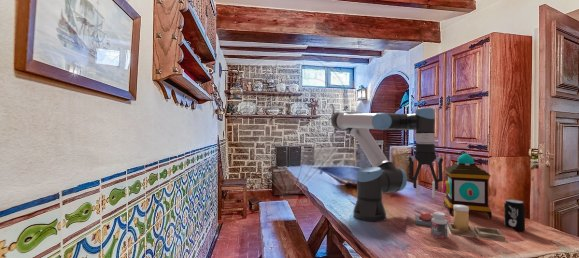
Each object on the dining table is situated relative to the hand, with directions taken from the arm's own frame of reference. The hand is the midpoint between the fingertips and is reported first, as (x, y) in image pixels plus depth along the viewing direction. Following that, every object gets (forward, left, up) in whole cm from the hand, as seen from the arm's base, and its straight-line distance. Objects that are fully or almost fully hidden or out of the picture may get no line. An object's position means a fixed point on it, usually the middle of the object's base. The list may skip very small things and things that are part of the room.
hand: (425, 196), depth 116 cm
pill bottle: (+4, -14, -13) cm, 20 cm away
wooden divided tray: (+17, -5, -13) cm, 22 cm away
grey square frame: (0, 0, -13) cm, 13 cm away
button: (0, 0, -11) cm, 11 cm away
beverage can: (+34, +11, -13) cm, 38 cm away
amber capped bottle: (+13, -5, -12) cm, 18 cm away
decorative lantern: (+20, +31, -13) cm, 39 cm away
